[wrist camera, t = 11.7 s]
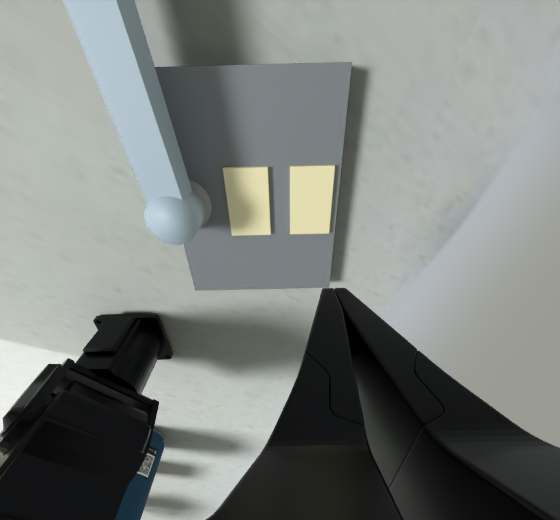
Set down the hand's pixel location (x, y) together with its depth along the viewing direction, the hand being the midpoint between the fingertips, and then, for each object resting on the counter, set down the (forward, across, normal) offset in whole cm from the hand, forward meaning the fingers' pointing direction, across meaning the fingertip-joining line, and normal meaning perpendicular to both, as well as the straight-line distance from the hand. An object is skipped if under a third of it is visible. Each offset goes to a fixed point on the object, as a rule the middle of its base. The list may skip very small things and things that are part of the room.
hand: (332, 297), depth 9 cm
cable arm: (+10, +9, -6) cm, 15 cm away
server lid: (+12, +4, 0) cm, 13 cm away
